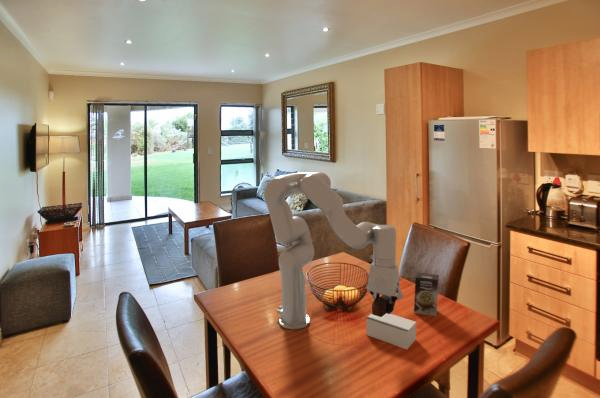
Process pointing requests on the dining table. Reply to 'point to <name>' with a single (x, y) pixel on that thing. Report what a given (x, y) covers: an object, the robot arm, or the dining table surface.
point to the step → (392, 329)
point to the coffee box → (426, 294)
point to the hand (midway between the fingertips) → (383, 310)
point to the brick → (380, 306)
